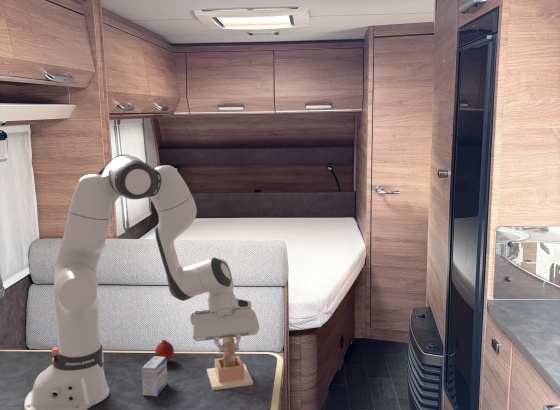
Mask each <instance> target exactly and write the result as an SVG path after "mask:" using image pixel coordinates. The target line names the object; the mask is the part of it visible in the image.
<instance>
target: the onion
mask: <svg viewBox="0 0 560 410" xmlns="http://www.w3.org/2000/svg"><path fill="white" fill-rule="evenodd" d="M174 355H175V349H174V346H173V345H172V343H170V342H169V341H167V340H166V339H164V338H162V339H161V342H160V343H158V344H157V346H156V348H155V356H160V357H166V361H167V363H168V362H170V361H171V359H172V358H173V357H174Z"/></svg>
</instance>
